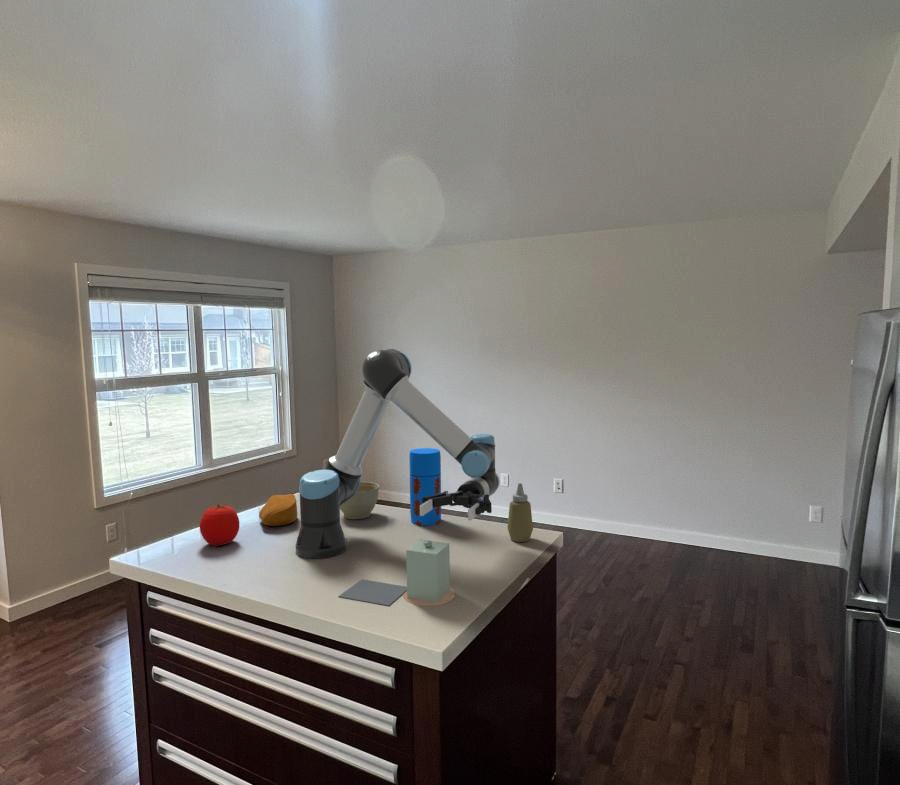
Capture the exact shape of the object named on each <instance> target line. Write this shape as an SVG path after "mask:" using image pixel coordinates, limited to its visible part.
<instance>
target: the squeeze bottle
mask: <svg viewBox="0 0 900 785" xmlns="http://www.w3.org/2000/svg"><path fill="white" fill-rule="evenodd" d="M515 492H516V493H514V494H512V501H510V502H509V509H508V517H507V525H506V526H507V530H508V533H509V534H508V535H509V537H510V540H511V541H513V542H517V543H524V542H525V543H526V542H529V540H531V536H532V533H533V530H534V527H533V526H534V525H533V515H532V505H531V502H530V501H529V500H528V494H526V493H525V491H524V487H523V483H517V488H516V491H515Z"/></svg>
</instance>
